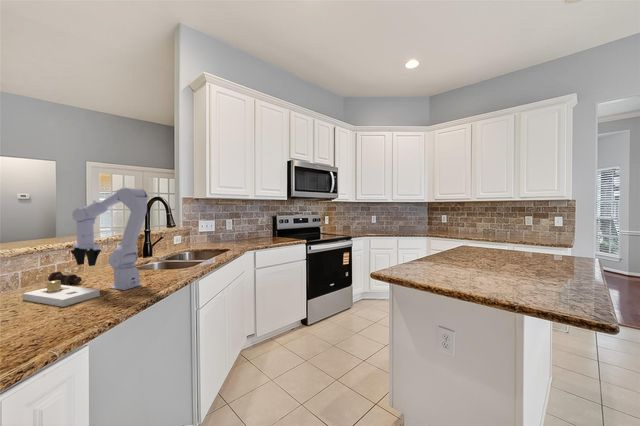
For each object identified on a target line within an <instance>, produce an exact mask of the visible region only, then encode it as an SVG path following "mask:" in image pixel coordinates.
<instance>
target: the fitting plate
mask: <svg viewBox="0 0 640 426" xmlns="http://www.w3.org/2000/svg"><path fill="white" fill-rule="evenodd" d="M100 292H101V291H100V289H96V288H89V287H81V286H75V285H67V284H65V285H64V284H61V290H60V291H56V292H52V293H47V287H45V288H41V289H36V290H32V291H28V292H23V293H22V300H23V301H26V302H33V303H38V304H39V303H40V304H44V305H51V306H56V307H67V306H70V305H74V304H77V303H80V302H84V301H88V300H91V299H94V298H97V297H100V294H101V293H100Z"/></svg>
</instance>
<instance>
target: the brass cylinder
mask: <svg viewBox="0 0 640 426" xmlns="http://www.w3.org/2000/svg"><path fill="white" fill-rule="evenodd" d="M61 285H62V282H61V280H56V281H50V282H49V281H47V282H46V288H47V293H52V292H56V291H60V290H61Z"/></svg>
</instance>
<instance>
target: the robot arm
mask: <svg viewBox="0 0 640 426" xmlns="http://www.w3.org/2000/svg"><path fill="white" fill-rule="evenodd" d="M148 199H149V195H148V193H147V191H146V190H145V189H143V188H132V187H130V188H129V187H121V188H119V189H117V190H116V191H115V192H114V193H113V194H112V195H110V196H108V197H106V198H104V199H103V200H97V199H95V200H93V201H92V202H91V203H90V204H88V205H87V204H86V205H85V206H84V207H83V208H82V207H78V208H75V209H74V210H73V211H72V214H71V215H72V216H71V217H72V219H73V221H75V223H76V243H75V244H72V249H70V253H71V254H72V256H73V257H74V260H75V262H76V265H77V266H81V265H85V260H86V258H87V264H88V266H89V267H93V266H96V263H97V260H98V257H99V255H100V253H101V252H102V249H100V245H99V244H96V243H95V238H94V237H95V235H94V234H95V233H94V224H95V223H96V222H95V220H96V219H97V217H98V216H100V215H102V214H104V213H106V212H107V211H108V209H109V208H110V207H112V206H114V205H116V204H119V203H120V202H121V203H122V204H124V206H125V207H126V208H128V209H129V210H130V213H129V217H128V220H127V223H126V226H125V228H124V232H123V234H122V239H121V241H120V244H119V245H117V247H116V248H114V249H113V252H112V253H111V254H110V255H109V258H108V263H109V266H110V267H111V269H113V282H114V283H113V285H112V286H109V287H108V288H109V289H114V290H123V291H125V290H128V289H129V290H130V289H133V288H136V287H139V286H142V283H140V280H141V279H140V270H139V269H138V268H137V267H135V265H136V262H137V261H138V256H139V254H138V253H139V249H138V247H136V244H137V241H138V238H139V237H140V236H139V235H140V233H141V230H142V228H143V224H144V221H145V219H146V218H145V217H146V216H147V212H148ZM85 257H86V258H85Z"/></svg>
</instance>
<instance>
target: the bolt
mask: <svg viewBox="0 0 640 426" xmlns="http://www.w3.org/2000/svg"><path fill="white" fill-rule="evenodd" d="M47 280H48V282H50V281H56V280H61V283H64V284H65V285H67V284H70V285H73V283H74V285H75V284H76V285H77V284H81V282H82V281H83V280H82V277H80V276H77V275H76V274H75V273H73V274H72V273H71V274H68V275H66V274H63V273H62V271H54V272H51V273H50V274H49V276H48V278H47Z"/></svg>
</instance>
